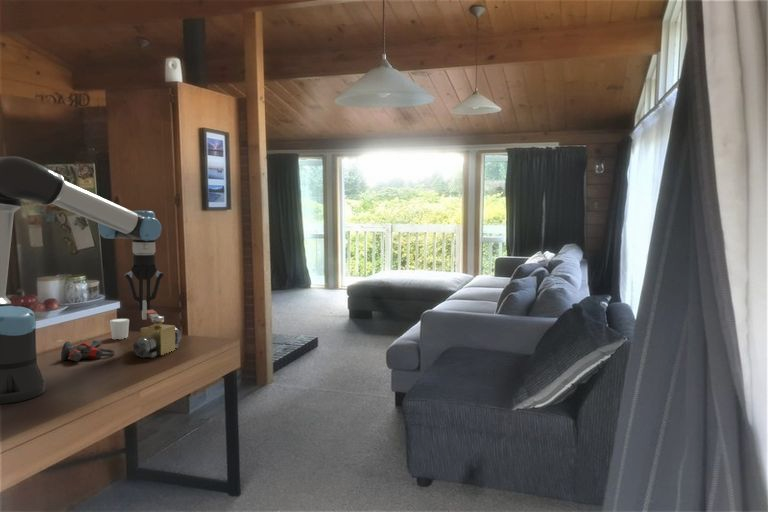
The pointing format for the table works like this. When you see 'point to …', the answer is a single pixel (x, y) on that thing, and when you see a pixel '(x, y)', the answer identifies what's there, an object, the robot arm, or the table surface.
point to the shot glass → (119, 328)
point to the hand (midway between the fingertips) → (144, 318)
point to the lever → (154, 316)
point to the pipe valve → (157, 340)
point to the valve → (84, 351)
